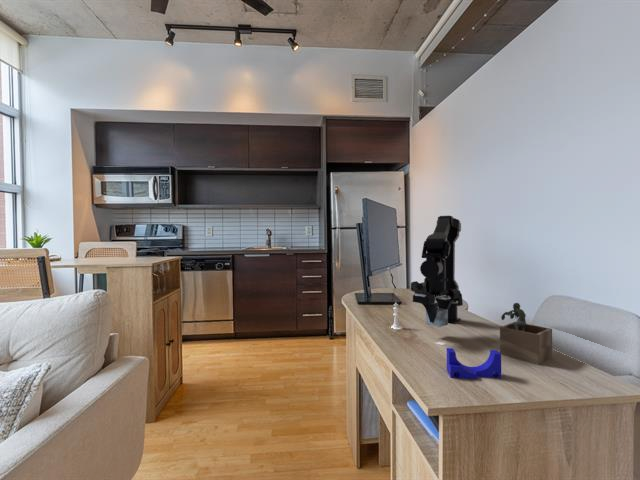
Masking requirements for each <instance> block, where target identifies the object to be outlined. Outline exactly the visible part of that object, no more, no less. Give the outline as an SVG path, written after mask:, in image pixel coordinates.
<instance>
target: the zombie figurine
mask: <svg viewBox="0 0 640 480" xmlns="http://www.w3.org/2000/svg"><path fill="white" fill-rule="evenodd" d="M506 316H508V317H510V318H509V319H511V320H513V319H514V318H515V319H517V320H516V321H515V322H516V323H515V330H519V326H521V328H522V331H524V332H525V326H526V325H527V324H528V323H527V322H526V317H527V315H526V313H525V311H524V310H523V309H521V305H520V303H519V302H515V303H513V305H512V310H509V311H505V312H504V313H502V314H501V316H500V317H501V321H504V320H505V319H506Z"/></svg>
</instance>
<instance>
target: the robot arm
mask: <svg viewBox="0 0 640 480" xmlns="http://www.w3.org/2000/svg"><path fill="white" fill-rule="evenodd" d="M461 231H462V223H461V221H460V219H457V218H455V217H454V216H452V215H440V216H438V217H437V220H436V225H435V228H434V231H433V233H431V234H430V235H428V236H427V237H426V239H425V240H424V242H423V247H422V251H421V259H426V260H424V261H423V262H422V263H421V264H420V267H419V271H420V274H421V275H422V276H423V277H424V279H423V282H419V281H415V280H414V281H412V282H411V283H410V291H411V292H413V295H412V302H413V303H418V304H421V305H422V306H423V307H424V308H425V312H426V311H427V314H428V317H429V320H430V322H431V323H434V320H435V317H436V313H437V309H438V308H441V309H447V310H448V323H449V322H450V323H454V322H455V323H456V322H458V321H462V318H461V317H458V307H460V306H464V305H463V304H464V302H463V294H462V292H461V290H460V287H459V283H457V281H456V279H455V278H456V277H455V271H456V268H455V267H456V266H455V265H456V264H455V263H456V257H455V255H456V242H457V240H458V238H460V232H461Z"/></svg>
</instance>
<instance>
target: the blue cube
mask: <svg viewBox="0 0 640 480" xmlns="http://www.w3.org/2000/svg"><path fill="white" fill-rule="evenodd" d="M425 324H426V325H429V326H432V327H437V328H441V327H444V326H445V327H446V326H447V325H449V321H448V310H447V309H441V308H438V309H437V313H436V317H435V320H434V323H431V322H430V320H429V317H428V314H427V311H426V310H425Z"/></svg>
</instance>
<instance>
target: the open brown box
mask: <svg viewBox="0 0 640 480" xmlns="http://www.w3.org/2000/svg"><path fill="white" fill-rule="evenodd" d="M515 323H516V321H514V322H511V323H509V324H505V325H502V326H500V327H499V353H500V354H501V356H506V357H508V358H512V359H515V360H519V361H523V362H526V363H529V364H532V365H533V364H534V365H537V366H538V365H541V364H542V363H544V362H545V361H547V360H549V359H551V358H553V328H550V327H544V326H539V325H534V324H528V323H526V324H527V325H526V326H525V332H524V331H522V328H521V326H519V330H515Z"/></svg>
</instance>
